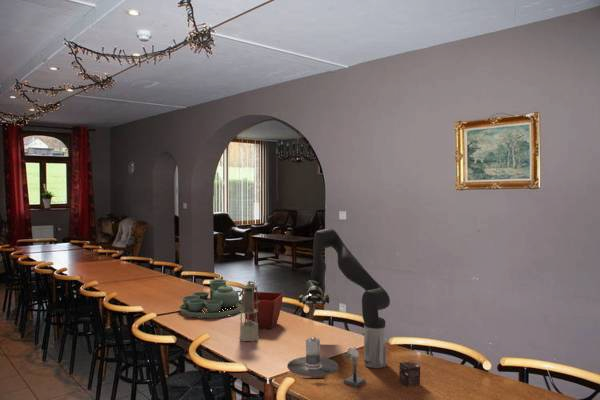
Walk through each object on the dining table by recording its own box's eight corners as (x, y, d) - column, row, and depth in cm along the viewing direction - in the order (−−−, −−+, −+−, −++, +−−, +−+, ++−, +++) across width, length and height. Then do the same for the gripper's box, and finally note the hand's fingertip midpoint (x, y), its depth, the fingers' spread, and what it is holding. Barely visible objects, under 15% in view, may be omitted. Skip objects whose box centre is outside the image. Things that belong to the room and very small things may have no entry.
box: (398, 380, 185) (399, 362, 184) (411, 378, 187) (411, 360, 187) (407, 386, 179) (407, 368, 179) (420, 384, 181) (420, 366, 181)
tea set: (174, 306, 301) (174, 282, 300) (233, 300, 318) (233, 277, 318) (187, 322, 265) (187, 294, 265) (252, 314, 282) (252, 288, 282)
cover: (320, 362, 199) (320, 335, 199) (320, 368, 193) (320, 340, 192) (305, 362, 199) (305, 335, 199) (305, 368, 193) (305, 339, 193)
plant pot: (241, 329, 252) (241, 298, 252) (252, 319, 271) (252, 291, 271) (274, 331, 248) (274, 300, 247) (283, 321, 266) (283, 293, 266)
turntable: (337, 359, 206) (337, 356, 206) (339, 380, 184) (339, 376, 184) (289, 358, 207) (289, 355, 207) (285, 378, 185) (285, 375, 185)
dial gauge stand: (365, 382, 182) (365, 346, 182) (356, 387, 178) (357, 350, 177) (346, 376, 188) (346, 341, 188) (338, 381, 184) (338, 345, 183)
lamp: (252, 334, 243) (252, 278, 242) (266, 340, 233) (266, 282, 232) (235, 338, 236) (235, 280, 236) (248, 345, 226) (248, 284, 226)
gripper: (300, 286, 227) (298, 294, 211) (329, 287, 226) (329, 294, 210) (300, 301, 227) (298, 310, 211) (329, 302, 226) (329, 311, 210)
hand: (313, 302), depth 210 cm, fingers open, 8 cm apart
